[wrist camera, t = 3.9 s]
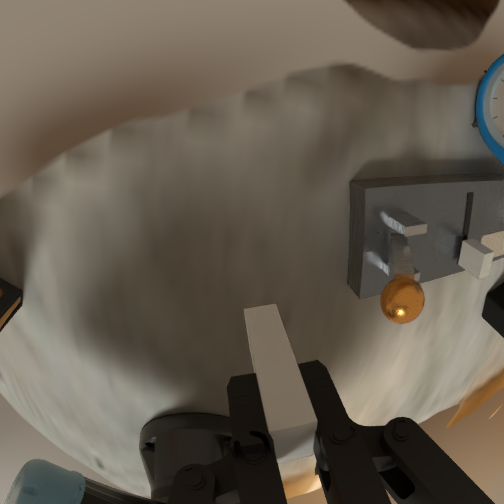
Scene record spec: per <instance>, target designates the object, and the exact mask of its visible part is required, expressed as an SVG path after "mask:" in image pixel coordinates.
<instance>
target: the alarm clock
mask: <svg viewBox="0 0 504 504" xmlns="http://www.w3.org/2000/svg"><path fill="white" fill-rule="evenodd" d="M484 72H485V75H484V77H483V79H482V81H481V84H480V87H479V90H478V94H477V99H476V118H477V121H476V122H475V123H473V124H472V127H473V128H474V127H478V128H479V131H480V133H481V136H482V138H483V140H484V142H485V143H486V145H487V146H488V148H489V149H490V150H491V152H492V153H493V154H494V155H495V156H496V157H497V158H498V159H499V160H500V161H501V162H502V164H503V165H504V54H503V55H502V56H500V57H499V58H498V59H497V60H496V61H495V62H494V63H493V64H492V65H491V66H490V68H489V69H488V70H487V71H486V70H485V71H484Z"/></svg>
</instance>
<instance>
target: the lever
mask: <svg viewBox="0 0 504 504" xmlns="http://www.w3.org/2000/svg"><path fill="white" fill-rule="evenodd" d="M388 272H389V283H388V284H387V285H386V286H385V287H384V289H383V291H382V294H381V298H380V304H381V309H382V311H383V313H384V315H385V316H386V317H387V318H388V319H389V320H391V321H392V322H395V323H399V324H404V323H408V322H411V321H413V320H414V319H416V318H417V317H418V316H419V314H420V313H421V311H422V309H423V307H424V302H425V297H424V292H423V289H422V287H421V286H420V284H419V283H418V282H417V281H415V280H414V277H415V273H414V268H413V262H412V258H411V253H410V248H409V244H408V239H407V237H405V236H403V235H402V234H400V233H391V236H390V247H389V257H388Z"/></svg>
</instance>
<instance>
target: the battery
mask: <svg viewBox="0 0 504 504" xmlns="http://www.w3.org/2000/svg"><path fill="white" fill-rule="evenodd" d="M482 317H483V319H485V320H486V321H487V322H488V323H489V324H490V325H491V326H492V327H493V328H494V329H495V330H496V331H497V332H498V333H499V334H500V335H501V336H502V337H503V338H504V283H503V284H502V285H500V286H499V287H497V288H496V289H494V290H493V291H491V292H490V293H488V294H487V296H486V300H485V305H484V309H483V313H482Z"/></svg>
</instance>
